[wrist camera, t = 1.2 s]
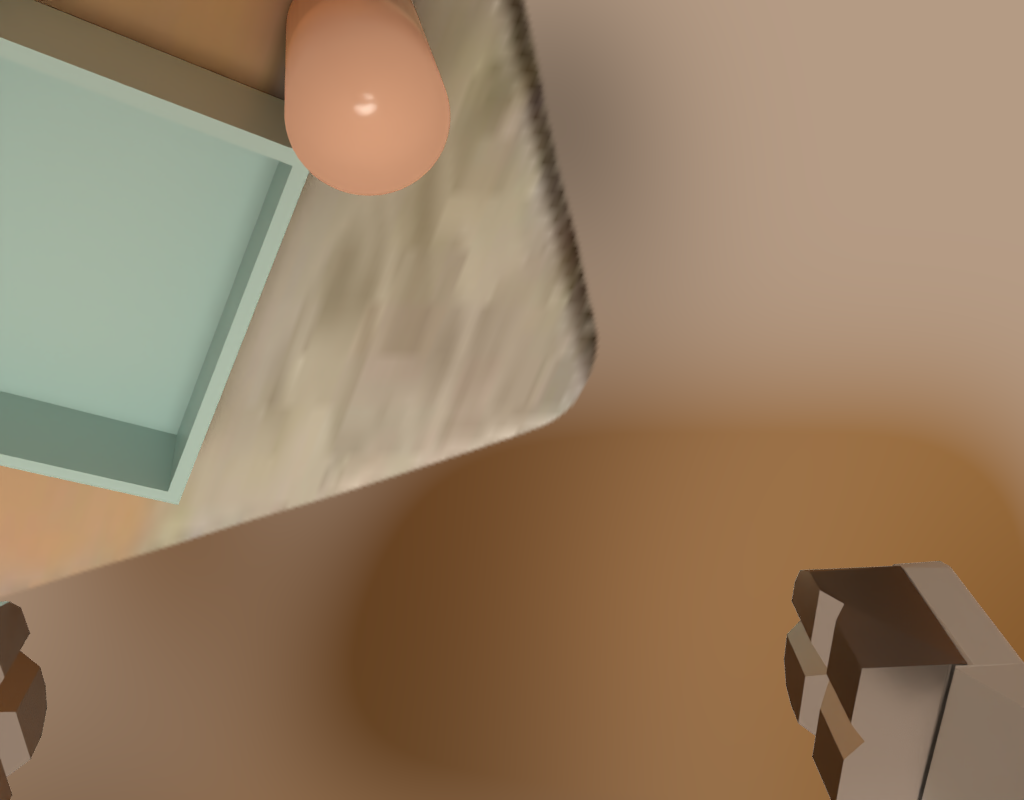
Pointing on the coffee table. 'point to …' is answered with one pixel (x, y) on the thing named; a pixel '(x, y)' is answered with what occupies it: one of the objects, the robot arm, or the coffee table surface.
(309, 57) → the peach rounded cylinder
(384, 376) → the coffee table surface
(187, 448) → the tray
